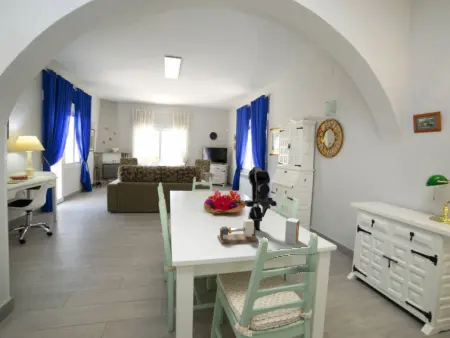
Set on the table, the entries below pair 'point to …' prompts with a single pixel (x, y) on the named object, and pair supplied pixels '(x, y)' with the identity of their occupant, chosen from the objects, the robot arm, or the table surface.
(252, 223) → the sleeve
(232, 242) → the rod stand
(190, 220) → the table surface
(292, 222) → the small box
